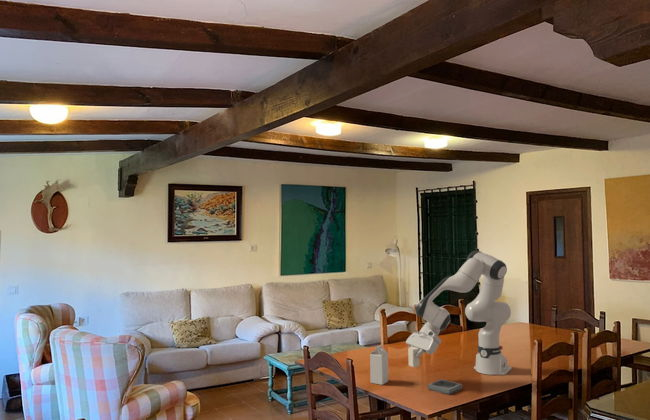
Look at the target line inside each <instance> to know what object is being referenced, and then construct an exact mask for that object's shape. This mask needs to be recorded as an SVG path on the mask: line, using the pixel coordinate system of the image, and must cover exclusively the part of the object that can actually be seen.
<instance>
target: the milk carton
mask: <svg viewBox="0 0 650 420" xmlns="http://www.w3.org/2000/svg"><path fill="white" fill-rule="evenodd" d="M369 361H370V363H369V366H370V367H369V371H370V374H369V375H370V378H369V379H370V383H371V384H376V385H380V386H381V385H385V384H387V383H388V382H389V353H388V351H387V350H386V349H385V348H384V347H383V344H380V345H378V346H376V347H375V349H374V350H373V351H372V352H371V353H370V354H369Z"/></svg>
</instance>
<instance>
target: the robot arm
mask: <svg viewBox="0 0 650 420" xmlns="http://www.w3.org/2000/svg"><path fill="white" fill-rule="evenodd" d="M507 270H508V268H507V264H506V263H505V262H504V261H503V260H500V259H498V258H496V257H494V256H493V255H489V254H488V253H484V252H482V251H481V250H473V251H471V252H470V253H469V254H468V255H467V258H466V261H465V262H464V263H463V264H462V265H461V267H459V269H458V271H457V272H456V273H455V274H454V275H452V276H446V277H444V278H442V279H441V280H440V281H439V283H437V285H436V286H435V287H433V289H432V290H431V291H429V293H427V294H426V295H425V296H424V297H423V298H421V299H420V300H418V302H417V303H416V305H415V307H414V311H415V314H416V315H417V317H420V318H421V319H422V320H425V321H426V322H425V323H424V324H423V325H422V327H421V329H420V330H418V331H414V332H412V333H410V335H409V336H408V338H407V339H406V340H405V344H406V345H407V346H408V348H411V347H416V348H419V352H418V353H416V354H415V357H416V358H419V359H420V357H421V356H422V355H423V354H425V353H426V354H428V355H433V354H435V352H436V350H437V349H438V348H439V345H440V344H441V343H442V339H440V337H439V334H440V332H441V331H445V330H446V328H447V327H448V325H449V324H450V323H451V321H452V320H451V314H450V312H449V311H448V310H447V309H446V308H445V307H443V306H442V307H441V306H438V305H437V304H435V303H434V302H433V301H434V299H436V298H437V297H438V296H439V295H440V294H441V293H442V292H443V291H453V292H457V293H461V294H462V293H465V294H466V293H469V292H471V291H472V289H474V288H475V287H476V284H477V283H478V282H479V280H480V278H481V276H482V275H483V276H482V280H481V285H480V290H479V293H478V294H477V296H476V297H475V298H474V299H473V300H472V301H471V302H469V303H467V304H466V307H465V308H464V309H465V310H464V314H465V316H466V319H468V320H469V321H470V322H475V323H476V322H477V323H481V322H485V323H486V322H487V323H486V324H485V326H484V327H482V328H481V329H479V331H478V336H477V337H478V345H477V354H476V355H475V356H476V357H475V365H474V366H473V370H475V371H476V372H478V373H479V374H483V375H489V376H490V375H491V376H497V375H498V376H499V375H500V376H501V375H502V376H505V375H507V374H509V372H511V370H512V369H513V368H512V366H510V365H508V359H507V357H506V356H504V354H503V353H502V350H503V349H504V348H503V345H500V332H501V328H502V327H503V325H504V323H505V322H507V321H508V320H509V319H510V317H511V315H512V309H511V307H510V305H509V304H508V303H507V302H504V301H497V300H499V299H500V297H502V294H503V288H504V282H505V276H506V274H507Z"/></svg>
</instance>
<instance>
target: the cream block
mask: <svg viewBox="0 0 650 420" xmlns="http://www.w3.org/2000/svg"><path fill="white" fill-rule="evenodd" d="M407 352H408V354H407V355H408V356H407V357H408V358H407V359H408V361H407V362H408V366H409V367H412V368H417V367H420V365H421V364H420V362H421V361H420V357H419V358H416V357H415V354H416V353H418V352H419V348H416V347H411V348H410V347H408V351H407Z"/></svg>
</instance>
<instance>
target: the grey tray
mask: <svg viewBox="0 0 650 420" xmlns="http://www.w3.org/2000/svg"><path fill="white" fill-rule="evenodd" d="M427 386H428V387H427V390H429V391H433V392H436V393H440V394H444V395H448V396H450V395H452V394H454V393H457V392H459V391H462V389H463V384H462V383H458V382H455V381H450V380H446V379H442V378H441V379H439V380H436V381H432V382H431V383H428V384H427Z"/></svg>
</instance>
